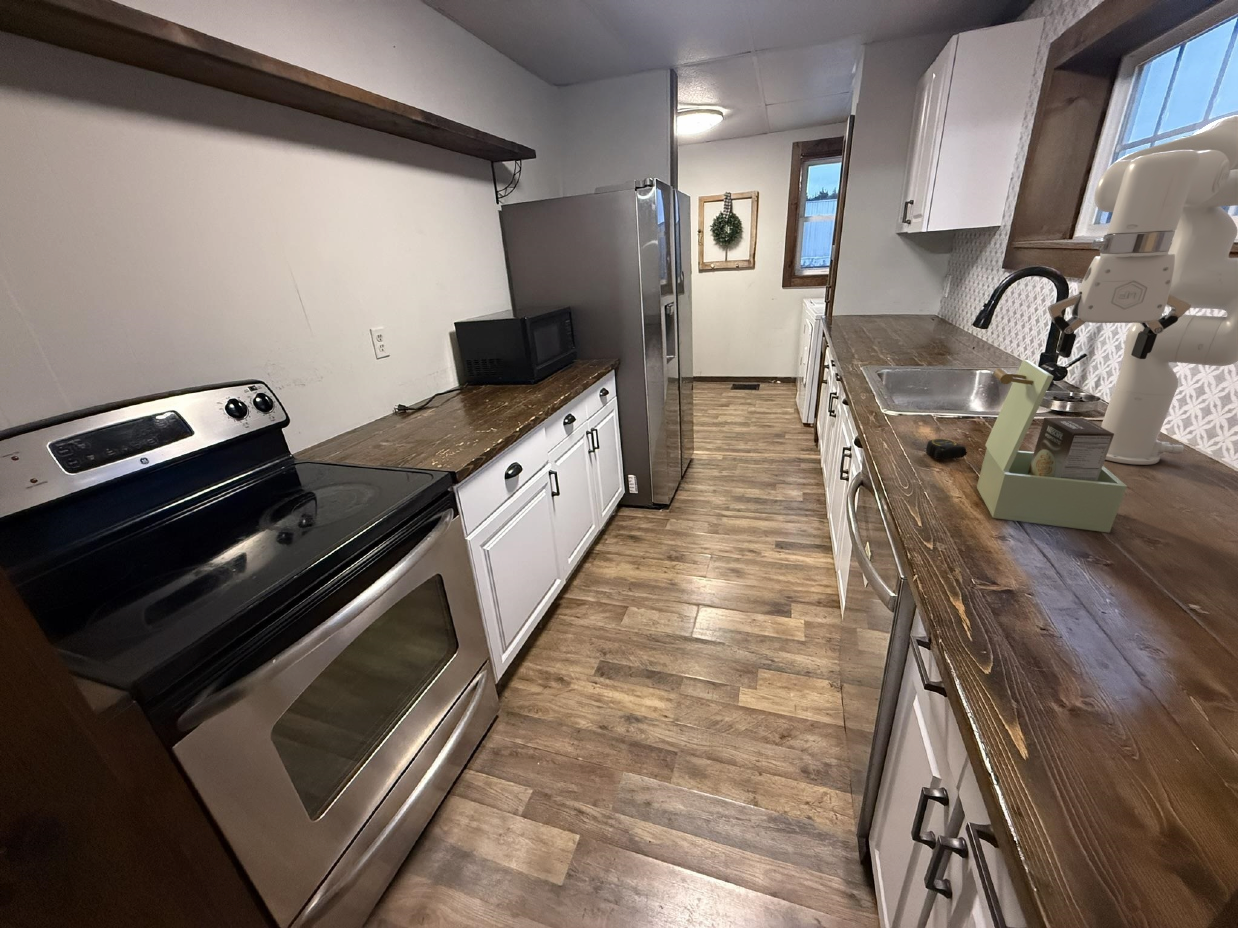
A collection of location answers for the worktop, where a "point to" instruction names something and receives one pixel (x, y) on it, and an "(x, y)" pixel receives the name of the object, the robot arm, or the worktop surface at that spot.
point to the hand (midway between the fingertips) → (1100, 357)
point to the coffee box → (1070, 449)
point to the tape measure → (945, 449)
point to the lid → (1017, 411)
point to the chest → (1049, 496)
